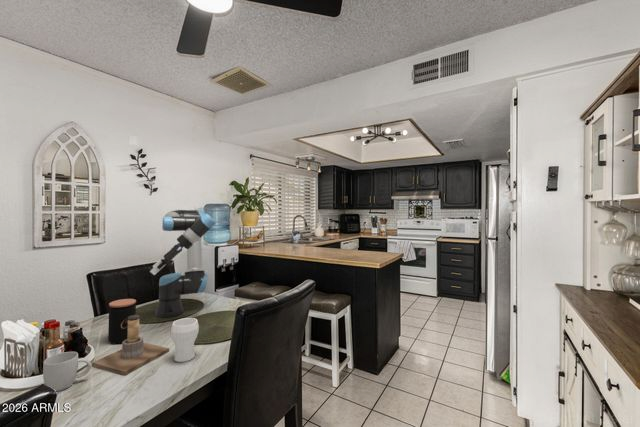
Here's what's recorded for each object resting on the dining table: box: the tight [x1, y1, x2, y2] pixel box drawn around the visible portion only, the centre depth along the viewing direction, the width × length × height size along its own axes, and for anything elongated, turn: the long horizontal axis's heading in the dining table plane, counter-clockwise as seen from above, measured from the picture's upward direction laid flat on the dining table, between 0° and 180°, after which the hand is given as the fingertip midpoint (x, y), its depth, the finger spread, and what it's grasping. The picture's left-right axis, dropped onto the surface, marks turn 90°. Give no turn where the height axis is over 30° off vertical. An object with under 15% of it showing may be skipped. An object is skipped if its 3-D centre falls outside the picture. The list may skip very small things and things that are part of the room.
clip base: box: [91, 336, 170, 376], centre depth 119 cm, size 20×18×8 cm
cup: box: [170, 317, 200, 363], centre depth 121 cm, size 11×11×15 cm
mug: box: [42, 351, 92, 392], centre depth 100 cm, size 13×9×10 cm
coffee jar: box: [107, 298, 137, 345], centre depth 136 cm, size 11×11×18 cm
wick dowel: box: [127, 314, 140, 343], centre depth 119 cm, size 4×4×16 cm
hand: (153, 270), depth 139 cm, fingers open, 13 cm apart
